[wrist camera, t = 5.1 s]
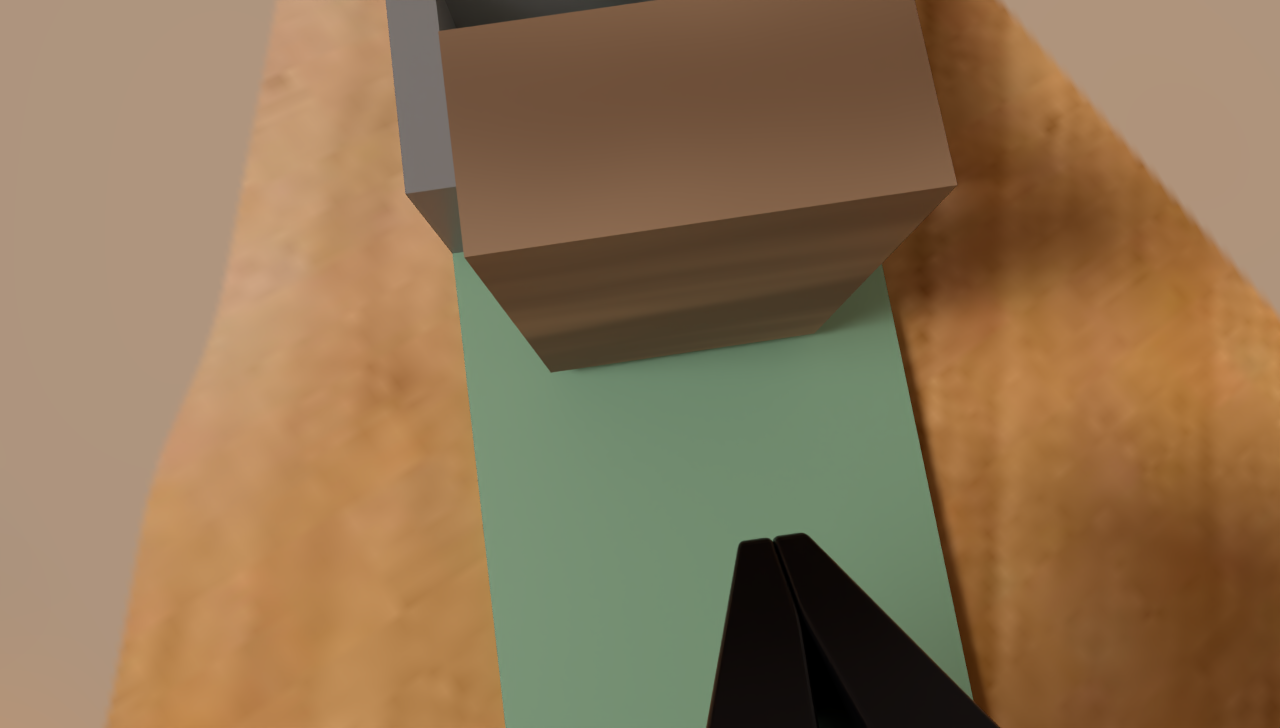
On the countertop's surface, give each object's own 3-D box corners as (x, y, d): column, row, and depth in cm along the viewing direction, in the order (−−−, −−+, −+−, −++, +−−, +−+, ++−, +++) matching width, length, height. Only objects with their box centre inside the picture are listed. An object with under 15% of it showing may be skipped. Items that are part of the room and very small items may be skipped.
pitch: (1006, 880, 17) (1012, 888, 16) (534, 955, 17) (532, 964, 16) (827, 23, 20) (829, 16, 20) (435, 79, 20) (432, 73, 20)
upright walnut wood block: (814, 333, 18) (957, 185, 10) (550, 372, 18) (464, 256, 10) (790, 208, 18) (906, -36, 10) (534, 246, 18) (437, 31, 10)
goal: (863, 197, 19) (918, 119, 15) (455, 257, 19) (405, 193, 15) (819, -12, 20) (860, -136, 16) (431, 44, 20) (378, -68, 16)
